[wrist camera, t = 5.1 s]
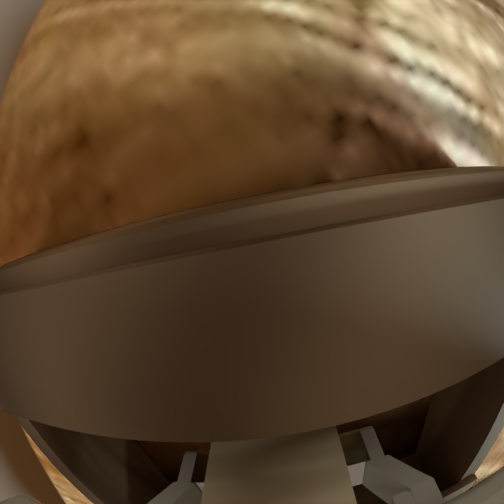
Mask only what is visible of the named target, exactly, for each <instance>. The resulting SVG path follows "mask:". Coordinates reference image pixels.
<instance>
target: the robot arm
mask: <svg viewBox="0 0 504 504" xmlns="http://www.w3.org/2000/svg"><path fill="white" fill-rule="evenodd" d="M338 435H339V439H340V442H341V446H342V449H343V453H344V457H345V460H346V464H347V468H348V471H349V475H350V479H351V483H352V486H356V485H360V484H363V485H364V486H365V487H366V488H368V489H369V490H370V491H371V492H373V493H374V494H375V495H377V496H378V497H379V498H381V499H382V500H384V501H385V502H386V503H388V504H504V467H502V468H501V469H499V470H498V471H497V472H495V473H494V474H492V475H491V476H489V477H488V478H486V479H485V480H483V481H482V482H480V483H479V484H477V485H475V486H474V487H472V488H470V489H469V490H467V491H465V492H464V493H462V494H460V495H458V496H456V497H455V498H453V499H451V500H449V501H447V502H445V501H444V499H443V497H442V495H441V493H440V490H439V488H438V486H437V484H436V482H435V480H434V478H433V477H430V476H428V475H426V474H424V473H422V472H420V471H418V470H416V469H414V468H412V467H410V466H409V465H407V464H405V463H403V462H401V461H399V460H397V459H395V458H394V457H392V456H390V455H386V456H385V455H384V452H383V450H382V447H381V445H380V443H379V440H378V438H377V435H376V433H375V431H374V428H373V427H372V426H368V427H364V428H361V429H356V430H353V431H349V432H345V433H342V434H338ZM209 452H210V451H186V452H185V454H184V457H183V461H182V464H181V468H180V472H179V476H178V480H177V482H173V483H172V484H170V485H169V486H168V487H167V488H166V489H164V490H163V491H162V492H161V493H160V494H158V495H157V496H156V497H155V498H153V499H152V500H151V501H150V502H148V503H147V504H201V499H202V493H203V487H204V481H205V475H206V469H207V464H208V458H209ZM0 504H42V503H40V502H38V501H36V500H35V499H33V498H31V497H29V496H27V495H24V494H20V495H16V496H14V497H11V498H8V499H6V500H3V501H1V502H0Z"/></svg>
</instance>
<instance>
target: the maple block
mask: <svg viewBox="0 0 504 504" xmlns="http://www.w3.org/2000/svg"><path fill="white" fill-rule="evenodd" d="M201 504H357V502H356V498H355V494H354V490H353V486H352V483H351V479H350V475H349V471H348V468H347V464H346V460H345V457H344V453H343V449H342V446H341V442H340V439H339V435H338V431H337V428H336V426H332V427H327V428H323V429H318V430H313V431H308V432H302V433H296V434H290V435H284V436H277V437H269V438H261V439H251V440H240V441H225V442H211V446H210V452H209V458H208V464H207V469H206V475H205V481H204V487H203V493H202V499H201Z"/></svg>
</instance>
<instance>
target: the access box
mask: <svg viewBox="0 0 504 504" xmlns="http://www.w3.org/2000/svg"><path fill="white" fill-rule="evenodd" d="M429 395H432V397H431V402H430V406H429V409H428V413H427V417H426V420H425V424H424V427H423V430H422V434H421V437H420V440H419V443H418V446H417V449H416V452H415V454H414V455H411V456H408V457H406V458H403V459H401V460H399V461H401V462H403V463H405V464H407V465H409V466H410V467H412V468H414V469H416V470H418V471H420V472H422V473H424V474H426V475H428V476H430V477H433V478H434V480H435V482H436V484H437V486H438V488H439V490H440V493H441V495H442V497H443V499H444V501H445V502H447V501H449V500H451V499H453V498H455V497H456V496H458V495H460V494H462V493H464V492H465V491H467V490H469V489H470V487H471V486H472V485H473V484H474V482H475V481H476V480H477V477H476V476H475V472H476V471H477V469H478V468H479V466H480V465H481V463H482V462H483V460H484V459H485V457H486V456H487V454H488V452H489V451H490V449H491V447H492V446H493V444H494V442H495V441H496V439H497V437H498V435H499V434H500V432H501V430H502V428H503V426H504V167H496V166H480V167H450V168H439V169H429V170H419V171H410V172H401V173H392V174H384V175H377V176H369V177H362V178H355V179H348V180H341V181H335V182H328V183H322V184H316V185H310V186H304V187H298V188H292V189H287V190H281V191H276V192H270V193H265V194H260V195H255V196H250V197H245V198H240V199H235V200H230V201H226V202H221V203H216V204H212V205H207V206H203V207H198V208H194V209H189V210H185V211H181V212H177V213H172V214H168V215H164V216H160V217H156V218H152V219H148V220H144V221H140V222H137V223H133V224H129V225H125V226H121V227H118V228H114V229H111V230H107V231H103V232H100V233H96V234H93V235H89V236H86V237H83V238H79V239H76V240H72V241H69V242H66V243H63V244H59V245H56V246H53V247H50V248H47V249H44V250H41V251H38V252H35V253H32V254H30V255H27V256H24V257H22V258H19V259H17V260H14V261H12V262H9V263H7V264H5V265H2V266H0V408H1V410H2V411H4V412H8V413H10V414H13V415H15V417H16V418H17V420H18V421H19V422H20V424H21V425H22V427H23V428H24V429H25V431H26V432H27V433H28V435H29V436H30V437H31V438H32V440H33V441H34V442H35V443H36V445H37V446H38V447H39V448H40V450H41V451H42V452H43V453H44V454H45V455H46V457H47V458H48V459H49V460H50V461H51V462H52V463H53V464H54V466H55V467H56V468H57V469H58V470H59V471H60V472H61V473H62V474H63V475H64V476H65V477H66V478H67V479H68V480H69V481H70V482H71V483H72V484H73V485H74V486H75V487H76V488H77V489H78V490H79V491H80V492H81V493H82V494H83V495H85V496H86V497H87V498H88V499H89V500H90V501H91V502H93V503H94V504H147V503H148V502H150V501H151V500H152V499H153V498H155V497H156V496H157V495H158V494H160V493H161V492H162V491H163V490H164V489H166V488H167V487H168V486H169V485H170V483H169V482H168V481H167V479H166V478H165V477H164V476H163V475H162V473H161V472H160V471H159V469H158V468H157V467H156V466H155V464H154V463H153V462H152V460H151V459H150V458H149V456H148V455H147V454H146V452H145V451H144V449H143V448H142V447H141V445H140V444H139V442H138V441H137V440H141V441H156V442H225V441H240V440H251V439H261V438H269V437H277V436H284V435H290V434H296V433H302V432H308V431H313V430H318V429H323V428H327V427H332V426H336V425H340V424H344V423H348V422H352V421H356V420H359V419H363V418H366V417H370V416H373V415H376V414H380V413H383V412H386V411H389V410H392V409H395V408H398V407H401V406H403V405H406V404H409V403H411V402H414V401H417V400H419V399H422V398H424V397H427V396H429ZM353 490H354V494H355V498H356V502H357V504H388V503H386V502H385V501H384V500H382V499H381V498H379V497H378V496H377V495H375V494H374V493H373V492H371V491H370V490H369V489H368V488H366V487H365V486H364V485H363V484H360V485H356V486H353Z"/></svg>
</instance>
